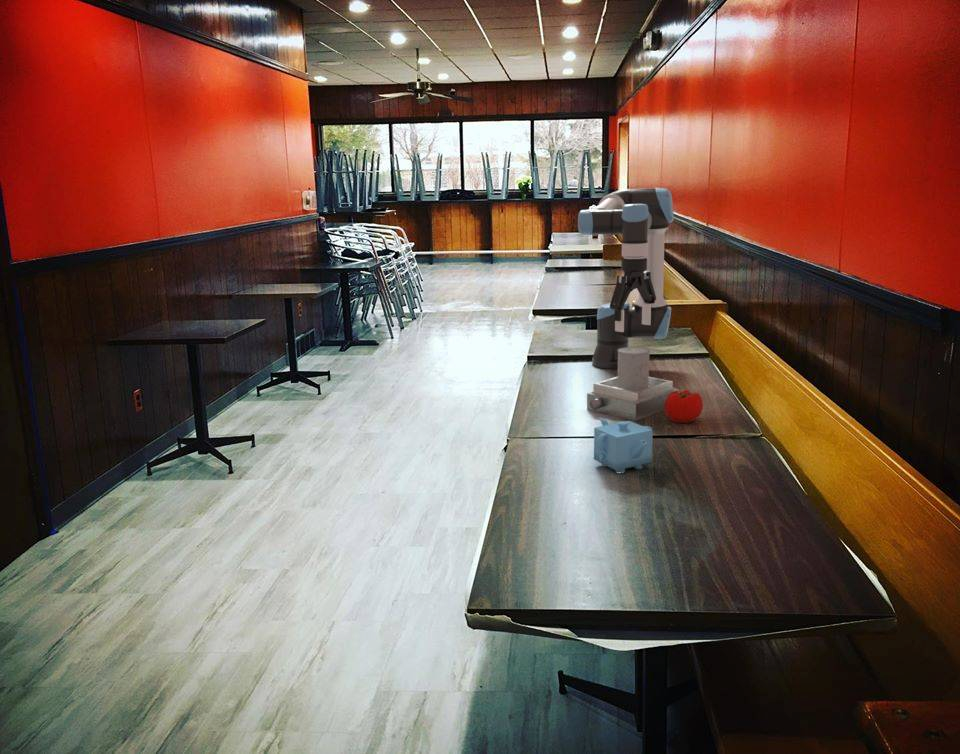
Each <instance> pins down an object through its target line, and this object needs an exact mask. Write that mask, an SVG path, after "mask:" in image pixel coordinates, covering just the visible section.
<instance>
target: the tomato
mask: <svg viewBox="0 0 960 754" xmlns="http://www.w3.org/2000/svg"><path fill="white" fill-rule="evenodd" d="M703 405H704V403H703V398H702V396H701V394H700V393H698V392H696V391H695V392H693V393H692V392H691V391H689V389H687V390H686V389H685V390H682V391H681V390H678V392H677V391H674V392H672V393H670V394H669V395H668V397H667V399H666V401H665V405H664V406H665V410H664V412H665V413H666V415H667V417H668V418H669V420H671V421H673V422H674V423H683V424H688V423H691V422H692V421H694V420H695V419H698V418H699V417H700V416H701V414H702V413H703V412H702V411H703V410H704V406H703Z"/></svg>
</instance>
